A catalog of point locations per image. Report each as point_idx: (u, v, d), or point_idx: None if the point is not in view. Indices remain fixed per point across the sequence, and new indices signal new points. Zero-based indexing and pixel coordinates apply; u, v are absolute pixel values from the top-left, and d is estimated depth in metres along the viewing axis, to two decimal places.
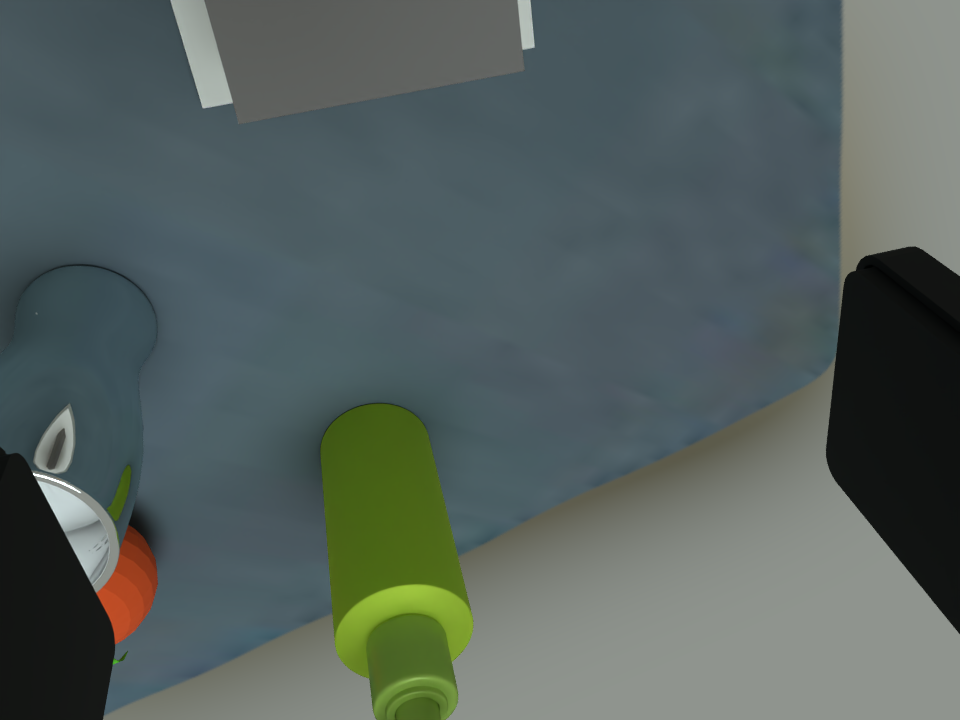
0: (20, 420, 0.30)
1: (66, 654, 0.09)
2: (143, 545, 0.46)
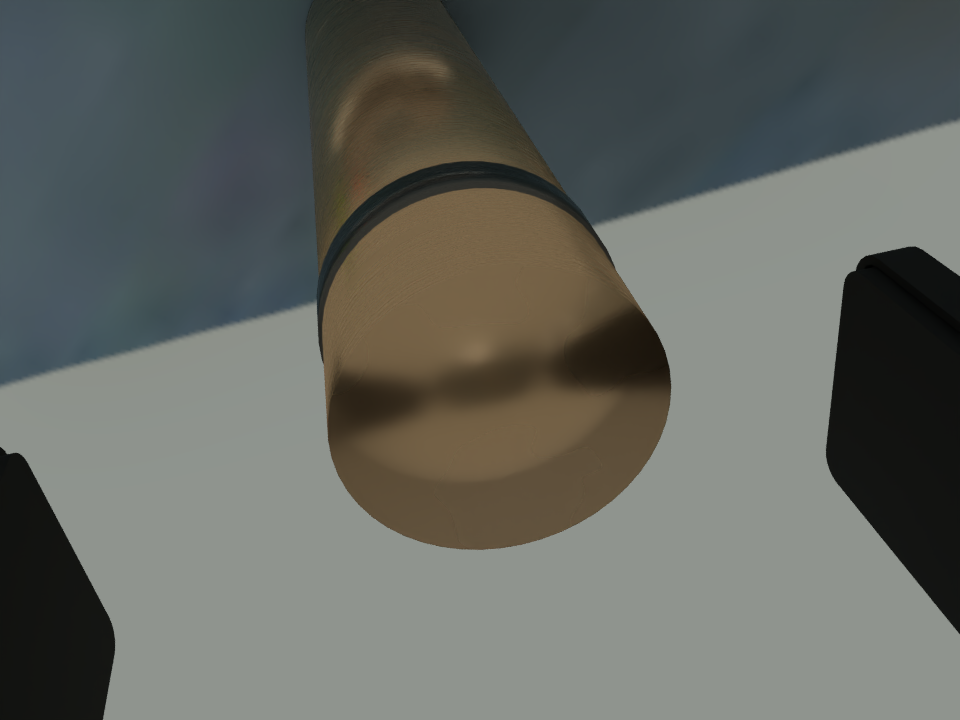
0: None
1: (66, 654, 0.09)
2: None
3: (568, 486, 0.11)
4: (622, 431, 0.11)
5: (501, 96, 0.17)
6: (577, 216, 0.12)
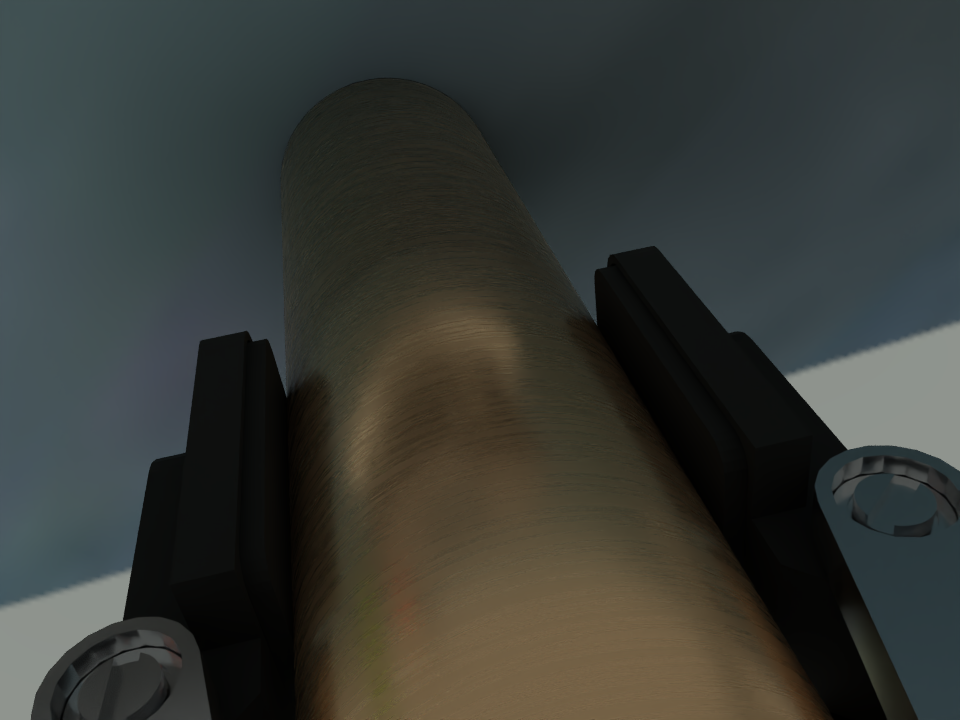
0: None
1: None
2: None
3: None
4: None
5: (654, 428, 0.09)
6: None
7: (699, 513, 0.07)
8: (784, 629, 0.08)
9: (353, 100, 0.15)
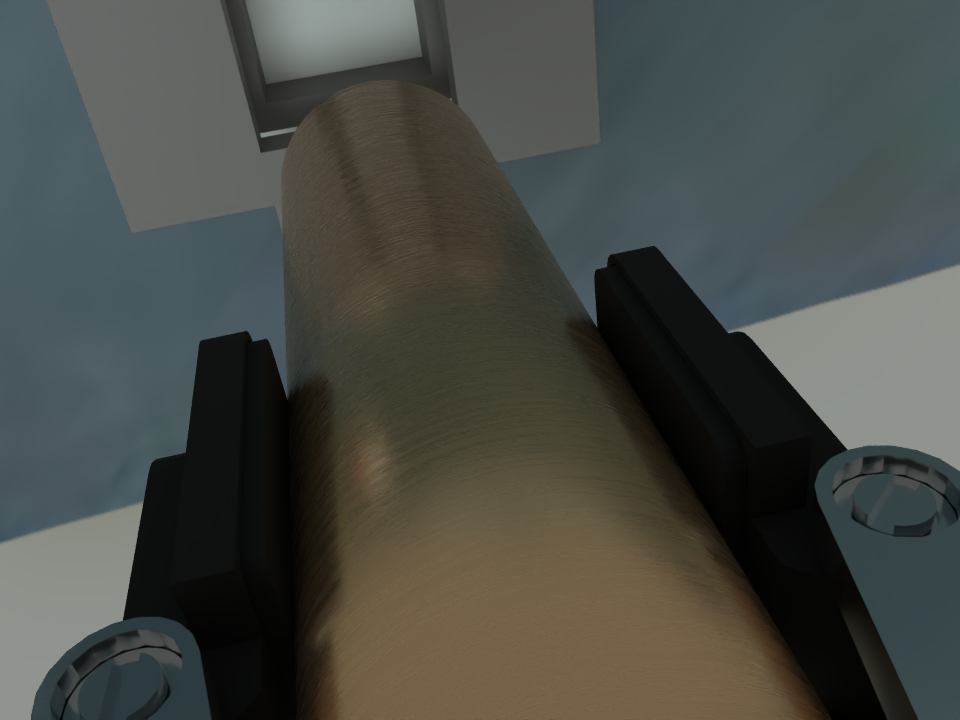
0: None
1: None
2: None
3: None
4: None
5: (654, 430, 0.09)
6: None
7: (699, 515, 0.07)
8: (784, 629, 0.08)
9: (353, 101, 0.15)
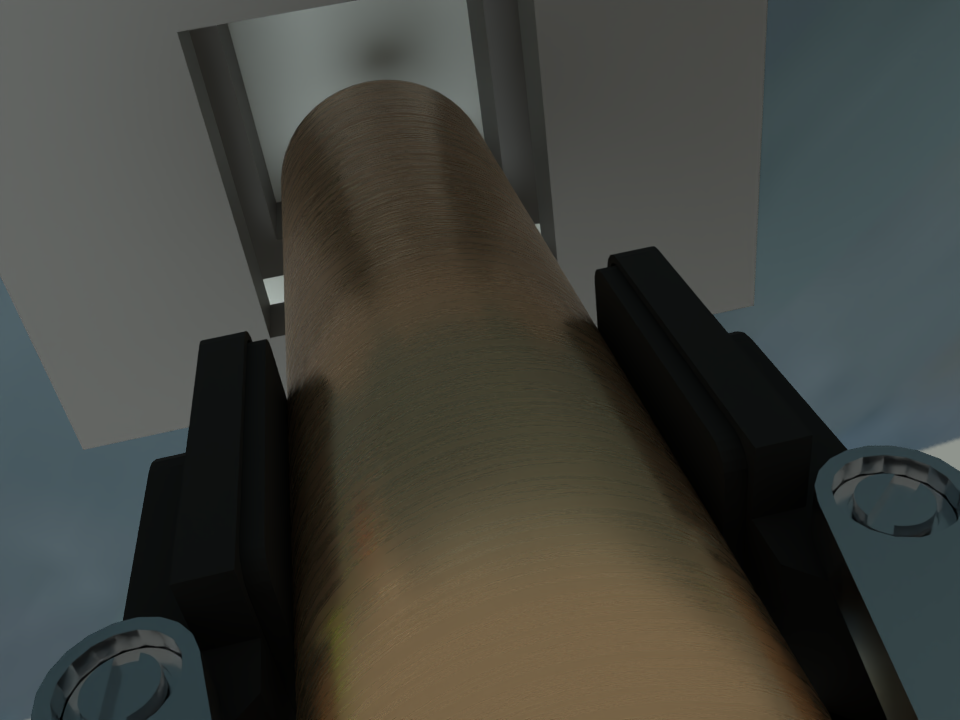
0: None
1: None
2: None
3: None
4: None
5: (654, 430, 0.09)
6: None
7: (699, 515, 0.07)
8: (784, 629, 0.08)
9: (353, 101, 0.15)
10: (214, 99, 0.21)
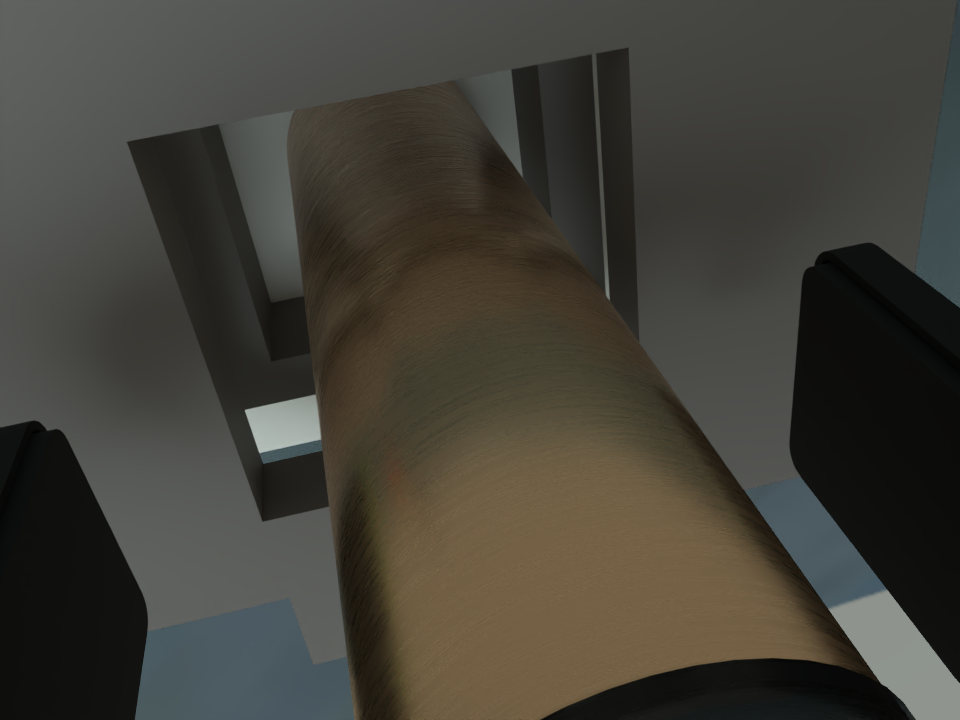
0: None
1: (105, 625, 0.09)
2: None
3: None
4: None
5: (625, 324, 0.10)
6: None
7: (661, 379, 0.09)
8: None
9: None
10: (189, 195, 0.16)
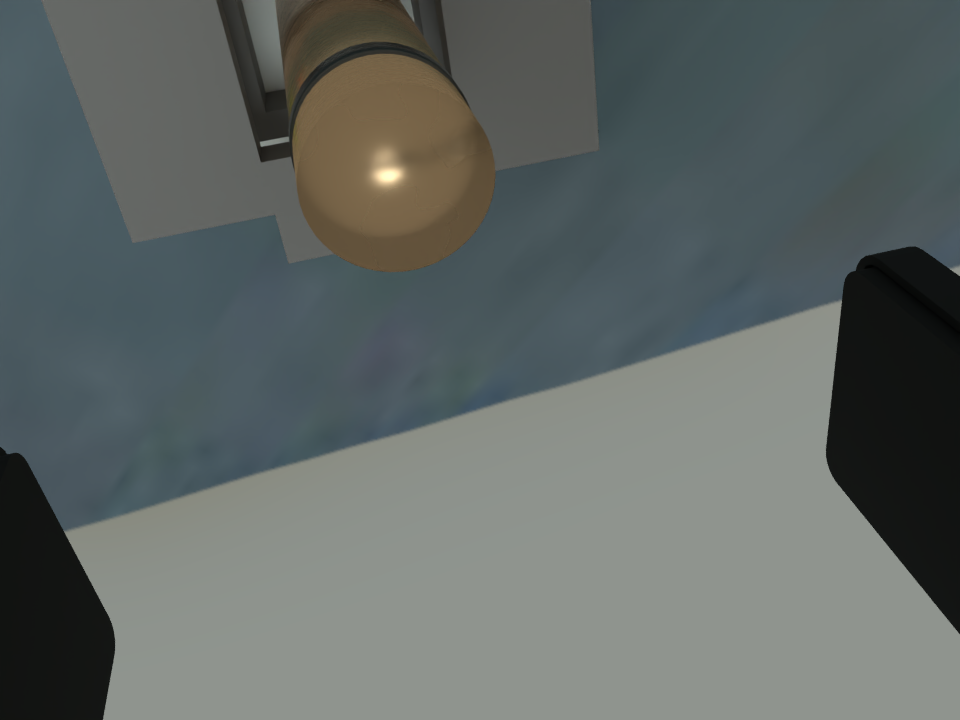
0: None
1: (66, 654, 0.09)
2: None
3: (440, 229, 0.19)
4: (468, 192, 0.19)
5: (411, 20, 0.24)
6: (443, 72, 0.19)
7: (414, 26, 0.23)
8: None
9: None
10: (221, 5, 0.30)
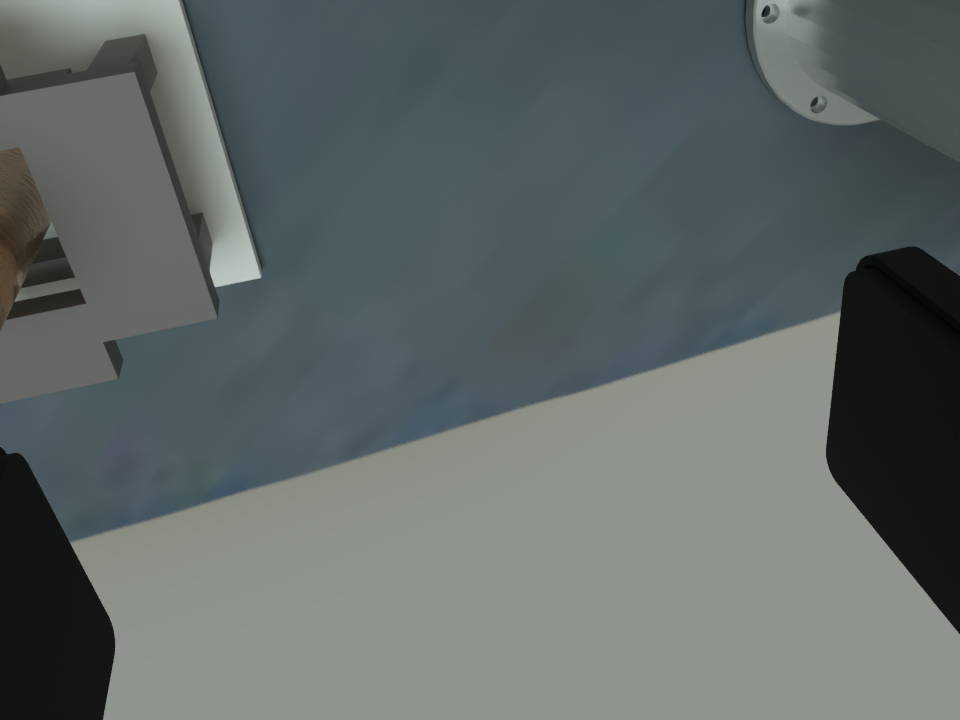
0: None
1: (66, 654, 0.09)
2: None
3: None
4: None
5: None
6: None
7: None
8: None
9: None
10: None
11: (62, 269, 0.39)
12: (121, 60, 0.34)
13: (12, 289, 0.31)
